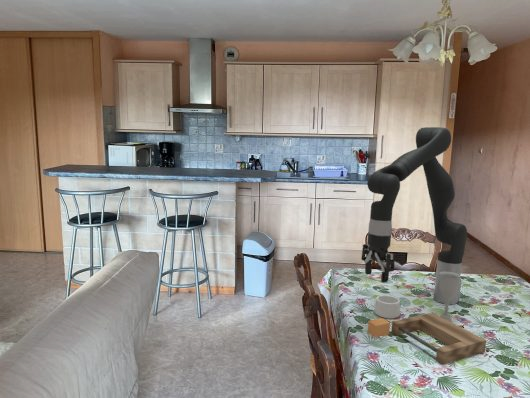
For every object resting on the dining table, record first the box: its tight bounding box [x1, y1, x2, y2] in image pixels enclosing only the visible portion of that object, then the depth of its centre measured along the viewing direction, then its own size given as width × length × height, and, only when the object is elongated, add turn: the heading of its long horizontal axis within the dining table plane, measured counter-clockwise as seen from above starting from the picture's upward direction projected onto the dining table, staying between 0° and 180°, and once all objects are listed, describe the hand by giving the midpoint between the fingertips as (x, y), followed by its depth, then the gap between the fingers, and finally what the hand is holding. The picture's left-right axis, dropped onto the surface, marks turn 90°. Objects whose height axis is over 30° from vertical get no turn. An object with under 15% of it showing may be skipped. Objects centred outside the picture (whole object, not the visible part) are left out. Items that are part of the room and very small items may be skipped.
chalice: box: [439, 272, 462, 323], centre depth 153 cm, size 7×7×18 cm
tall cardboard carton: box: [367, 317, 391, 338], centre depth 143 cm, size 6×4×4 cm, turn 115°
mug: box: [373, 294, 401, 320], centre depth 160 cm, size 12×10×6 cm
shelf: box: [390, 312, 487, 365], centre depth 139 cm, size 19×22×4 cm
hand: (376, 277), depth 143 cm, fingers open, 8 cm apart
